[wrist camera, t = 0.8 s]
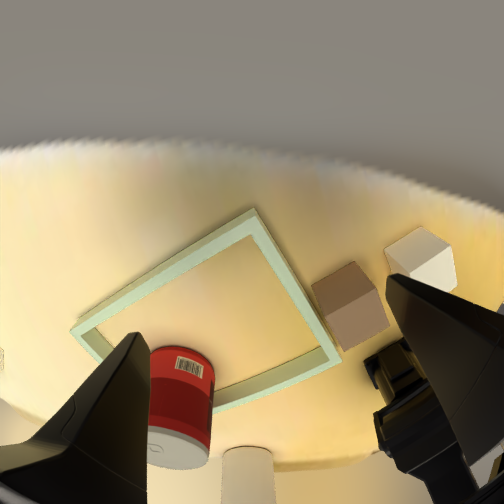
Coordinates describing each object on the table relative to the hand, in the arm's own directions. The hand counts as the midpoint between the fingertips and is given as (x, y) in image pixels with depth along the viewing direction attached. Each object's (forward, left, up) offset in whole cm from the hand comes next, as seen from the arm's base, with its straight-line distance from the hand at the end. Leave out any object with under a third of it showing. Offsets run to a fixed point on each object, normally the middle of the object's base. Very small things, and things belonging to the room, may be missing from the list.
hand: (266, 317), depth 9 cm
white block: (-11, -11, -14) cm, 21 cm away
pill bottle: (-33, +21, -14) cm, 41 cm away
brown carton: (-11, -3, -14) cm, 18 cm away
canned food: (-11, +16, -14) cm, 24 cm away
